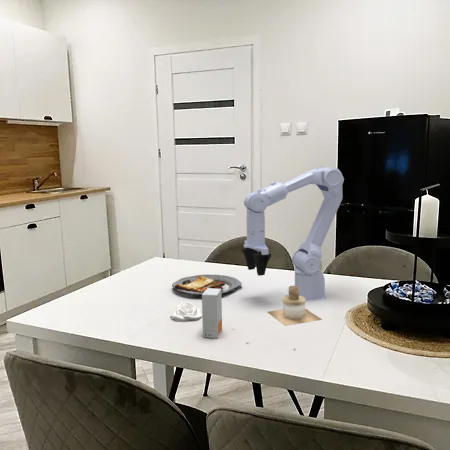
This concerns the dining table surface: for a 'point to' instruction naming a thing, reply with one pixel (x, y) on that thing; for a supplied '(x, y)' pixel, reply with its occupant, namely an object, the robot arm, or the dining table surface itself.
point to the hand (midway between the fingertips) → (256, 272)
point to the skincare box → (212, 312)
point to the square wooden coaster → (279, 316)
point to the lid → (293, 297)
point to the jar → (294, 311)
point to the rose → (186, 312)
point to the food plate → (205, 283)
